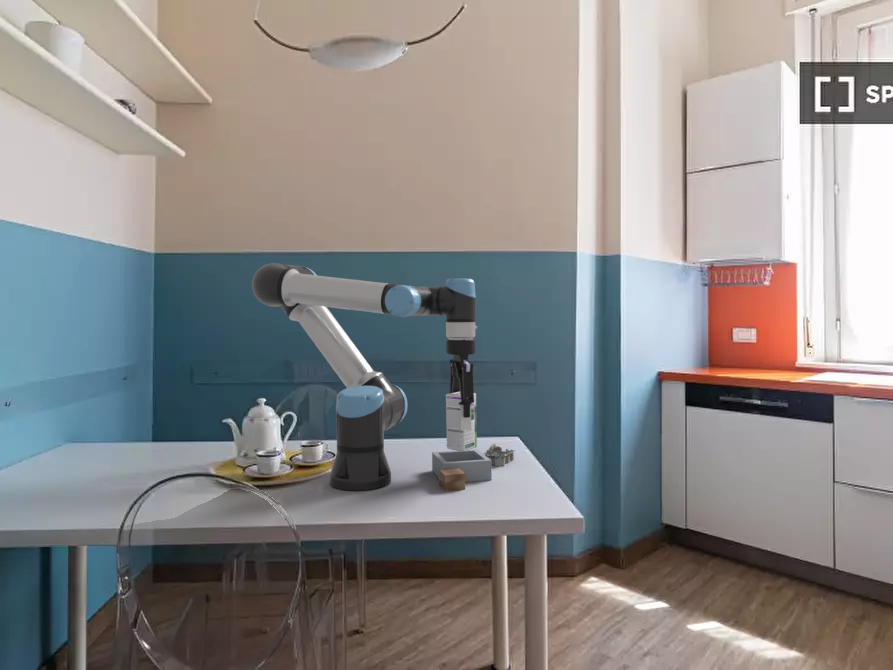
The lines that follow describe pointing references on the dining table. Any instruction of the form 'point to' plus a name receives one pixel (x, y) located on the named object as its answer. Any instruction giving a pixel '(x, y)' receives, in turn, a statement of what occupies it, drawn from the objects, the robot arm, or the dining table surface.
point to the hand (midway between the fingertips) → (461, 426)
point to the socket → (463, 464)
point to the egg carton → (499, 455)
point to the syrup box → (455, 436)
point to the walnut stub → (452, 479)
